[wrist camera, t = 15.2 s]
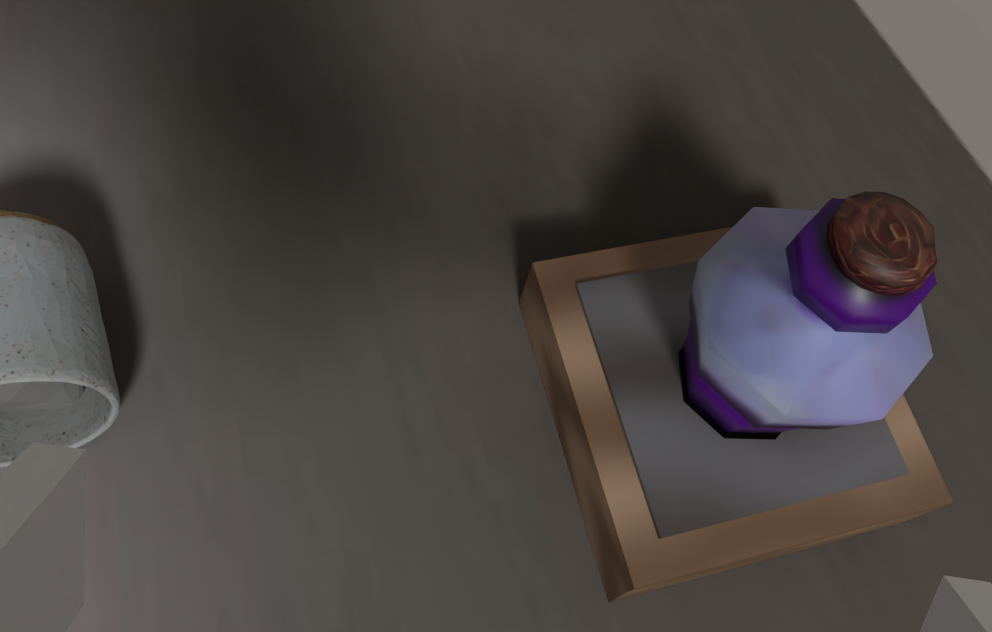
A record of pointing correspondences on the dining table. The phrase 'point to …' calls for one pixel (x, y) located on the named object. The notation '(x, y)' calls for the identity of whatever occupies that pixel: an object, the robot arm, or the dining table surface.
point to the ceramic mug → (50, 340)
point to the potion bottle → (809, 317)
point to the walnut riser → (694, 433)
